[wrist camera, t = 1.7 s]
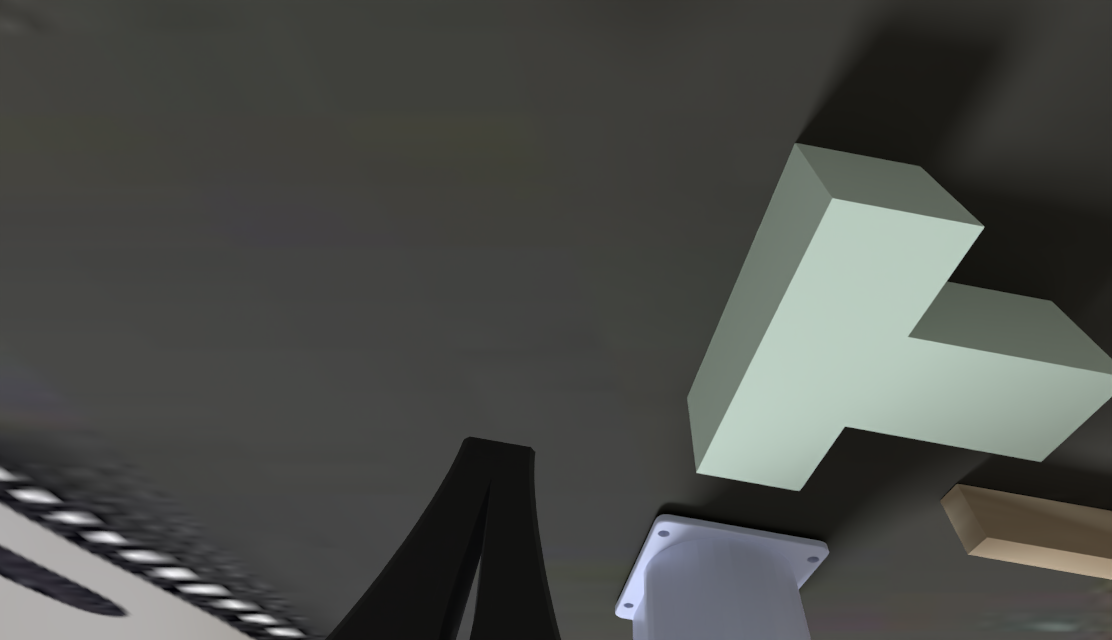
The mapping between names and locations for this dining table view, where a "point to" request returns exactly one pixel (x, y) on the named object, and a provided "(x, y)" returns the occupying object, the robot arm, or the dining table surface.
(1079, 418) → the tee
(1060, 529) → the dock
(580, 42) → the dining table surface
